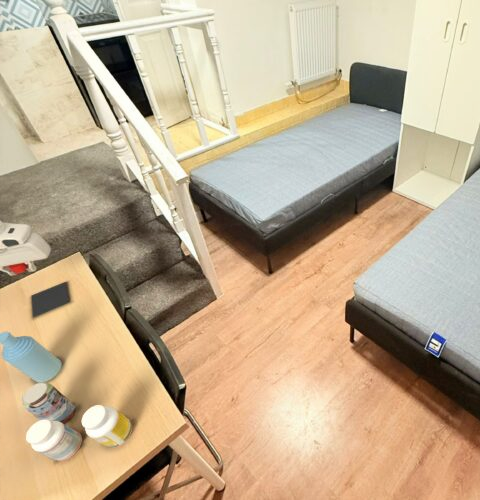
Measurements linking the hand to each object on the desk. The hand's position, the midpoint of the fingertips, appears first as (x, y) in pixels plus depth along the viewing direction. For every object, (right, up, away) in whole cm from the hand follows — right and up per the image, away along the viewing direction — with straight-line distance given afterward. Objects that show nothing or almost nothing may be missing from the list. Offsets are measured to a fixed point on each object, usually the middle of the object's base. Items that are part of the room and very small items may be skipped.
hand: (24, 272), depth 100 cm
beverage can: (+25, -34, -17) cm, 46 cm away
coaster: (0, -10, +9) cm, 13 cm away
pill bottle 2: (+40, -37, -20) cm, 59 cm away
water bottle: (+14, -26, -8) cm, 31 cm away
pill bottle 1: (+30, -39, -22) cm, 54 cm away
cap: (0, +2, -2) cm, 3 cm away
